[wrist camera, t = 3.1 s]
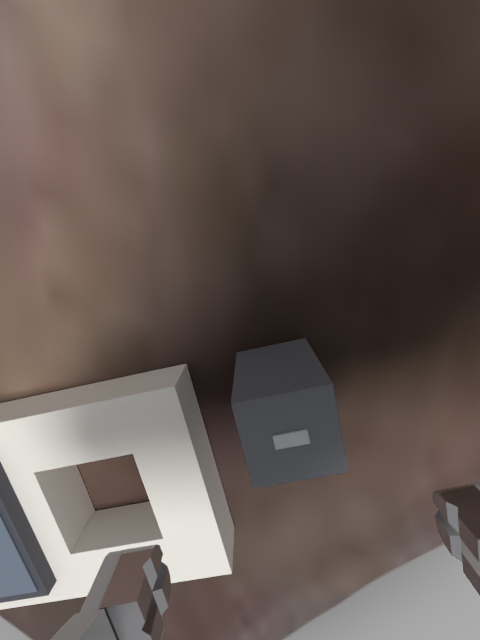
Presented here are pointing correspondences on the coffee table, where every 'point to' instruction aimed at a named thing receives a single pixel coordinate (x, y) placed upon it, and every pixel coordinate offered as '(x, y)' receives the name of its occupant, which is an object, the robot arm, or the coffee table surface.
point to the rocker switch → (286, 415)
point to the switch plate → (73, 499)
